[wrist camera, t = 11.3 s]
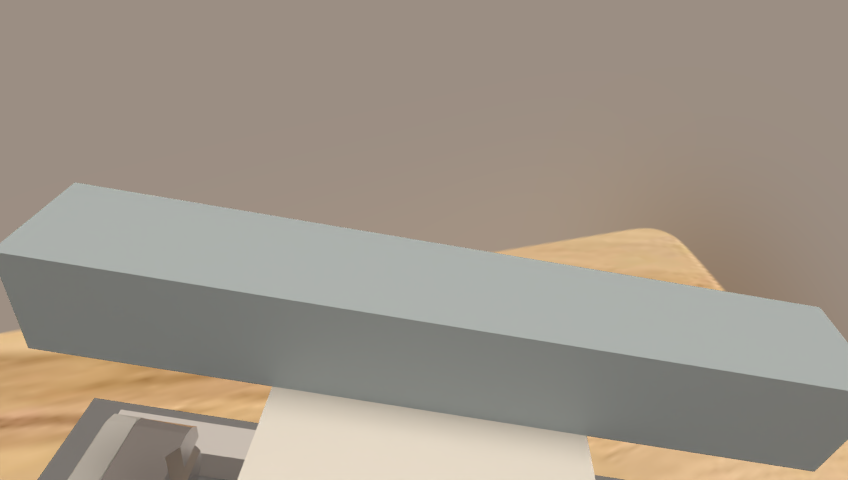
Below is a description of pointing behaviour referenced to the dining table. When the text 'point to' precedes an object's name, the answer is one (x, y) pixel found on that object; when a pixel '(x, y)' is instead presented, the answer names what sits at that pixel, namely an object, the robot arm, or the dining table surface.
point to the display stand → (423, 343)
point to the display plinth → (217, 436)
